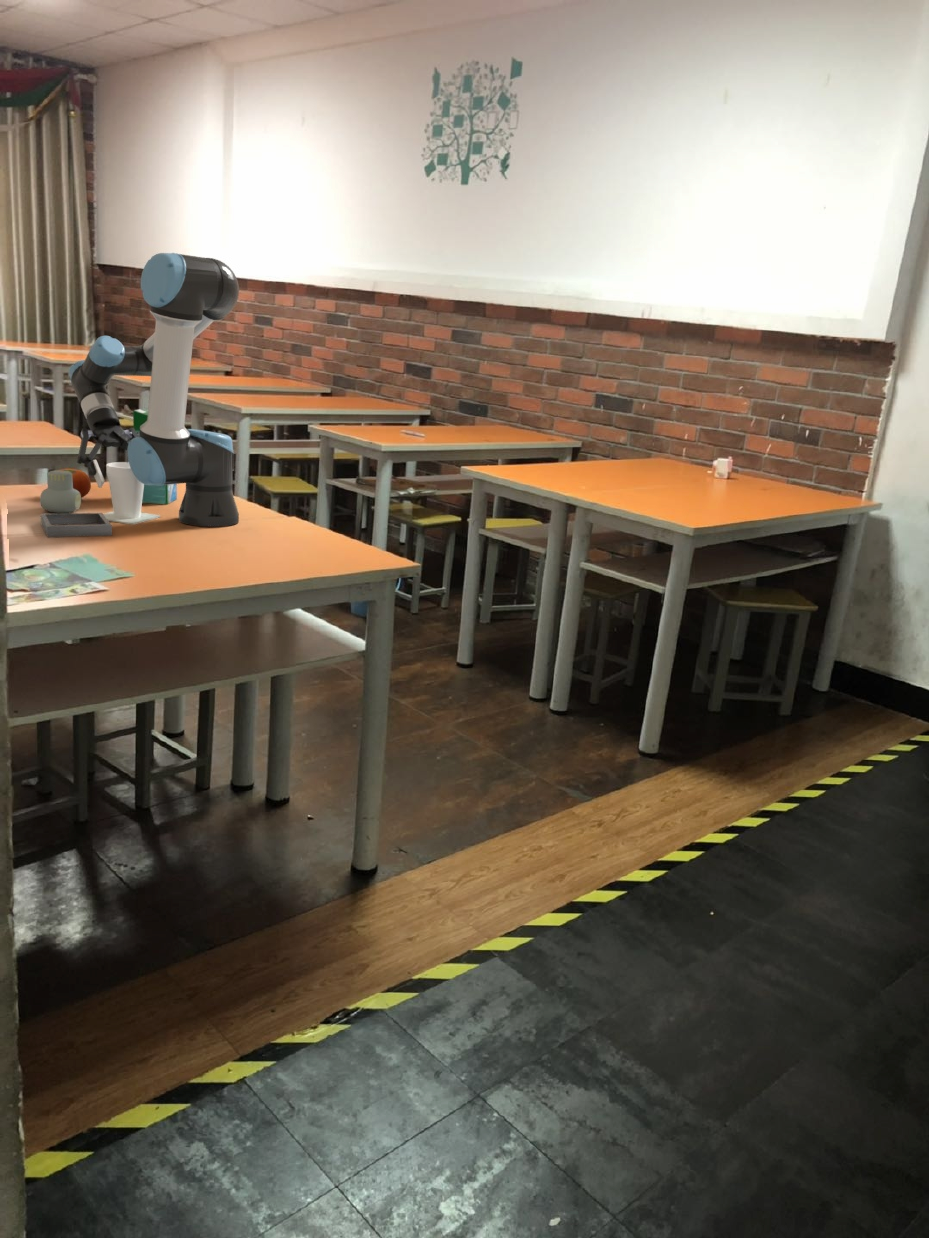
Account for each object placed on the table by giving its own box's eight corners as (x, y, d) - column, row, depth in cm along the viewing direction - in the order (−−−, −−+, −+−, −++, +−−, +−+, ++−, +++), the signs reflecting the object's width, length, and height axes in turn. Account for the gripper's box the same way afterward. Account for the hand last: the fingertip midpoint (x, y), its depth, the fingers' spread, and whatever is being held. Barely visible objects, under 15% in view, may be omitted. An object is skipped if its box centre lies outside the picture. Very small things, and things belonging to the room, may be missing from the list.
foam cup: (106, 512, 248) (105, 461, 244) (144, 512, 251) (143, 462, 247) (109, 519, 239) (108, 467, 235) (148, 519, 243) (147, 468, 239)
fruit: (56, 494, 265) (55, 465, 263) (95, 496, 267) (94, 468, 264) (44, 501, 255) (43, 471, 253) (85, 504, 257) (84, 474, 254)
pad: (160, 517, 249) (160, 515, 249) (133, 524, 238) (133, 523, 238) (120, 510, 252) (120, 509, 252) (91, 518, 241) (91, 516, 241)
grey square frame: (102, 522, 238) (102, 512, 237) (111, 535, 226) (111, 525, 225) (40, 524, 231) (40, 513, 230) (47, 537, 219) (47, 526, 218)
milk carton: (167, 504, 264) (166, 413, 257) (134, 502, 264) (132, 410, 257) (177, 499, 273) (176, 410, 266) (145, 496, 273) (144, 407, 266)
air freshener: (73, 516, 242) (71, 477, 239) (38, 514, 240) (36, 475, 237) (83, 508, 252) (81, 470, 249) (49, 506, 250) (48, 468, 248)
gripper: (142, 424, 258) (169, 489, 253) (48, 424, 241) (74, 494, 236) (151, 406, 253) (178, 472, 248) (55, 406, 236) (83, 476, 231)
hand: (128, 483), depth 242 cm, fingers open, 13 cm apart
